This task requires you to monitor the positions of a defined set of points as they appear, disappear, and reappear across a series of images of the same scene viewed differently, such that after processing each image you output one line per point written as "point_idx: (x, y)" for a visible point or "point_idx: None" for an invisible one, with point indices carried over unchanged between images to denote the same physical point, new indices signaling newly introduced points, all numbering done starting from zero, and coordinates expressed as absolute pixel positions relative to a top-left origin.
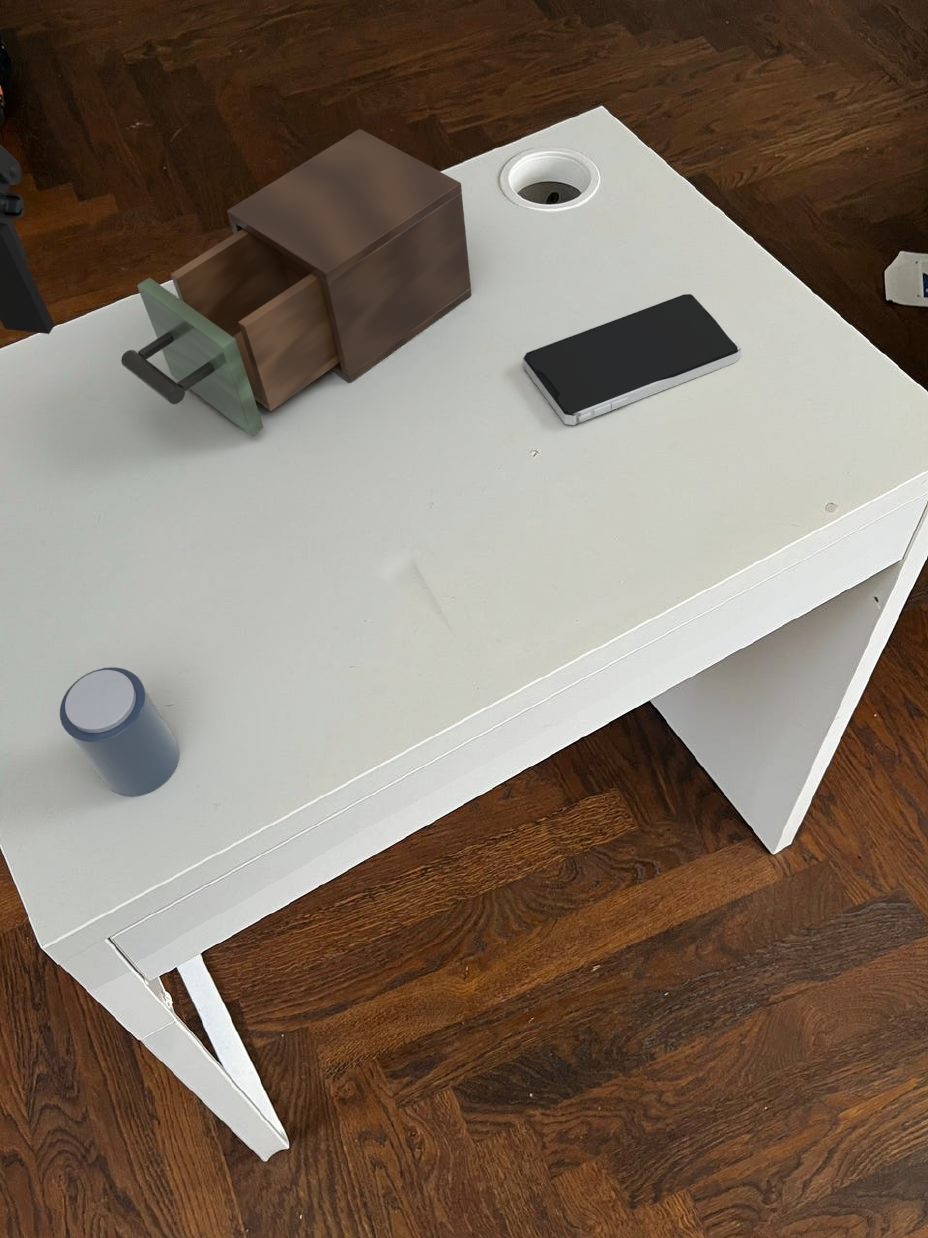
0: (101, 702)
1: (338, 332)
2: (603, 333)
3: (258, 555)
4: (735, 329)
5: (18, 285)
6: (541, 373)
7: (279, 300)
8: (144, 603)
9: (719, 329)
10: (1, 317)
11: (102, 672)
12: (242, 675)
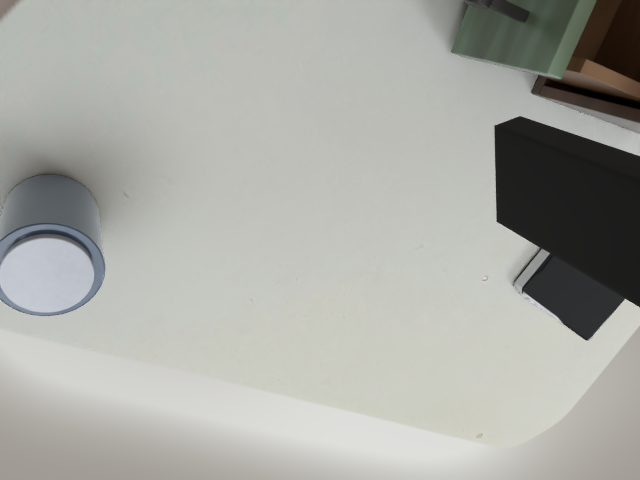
0: (46, 281)
1: (584, 107)
2: None
3: (321, 150)
4: None
5: (596, 263)
6: None
7: (619, 84)
8: (216, 78)
9: (604, 321)
10: (518, 139)
11: (80, 252)
12: (195, 230)
